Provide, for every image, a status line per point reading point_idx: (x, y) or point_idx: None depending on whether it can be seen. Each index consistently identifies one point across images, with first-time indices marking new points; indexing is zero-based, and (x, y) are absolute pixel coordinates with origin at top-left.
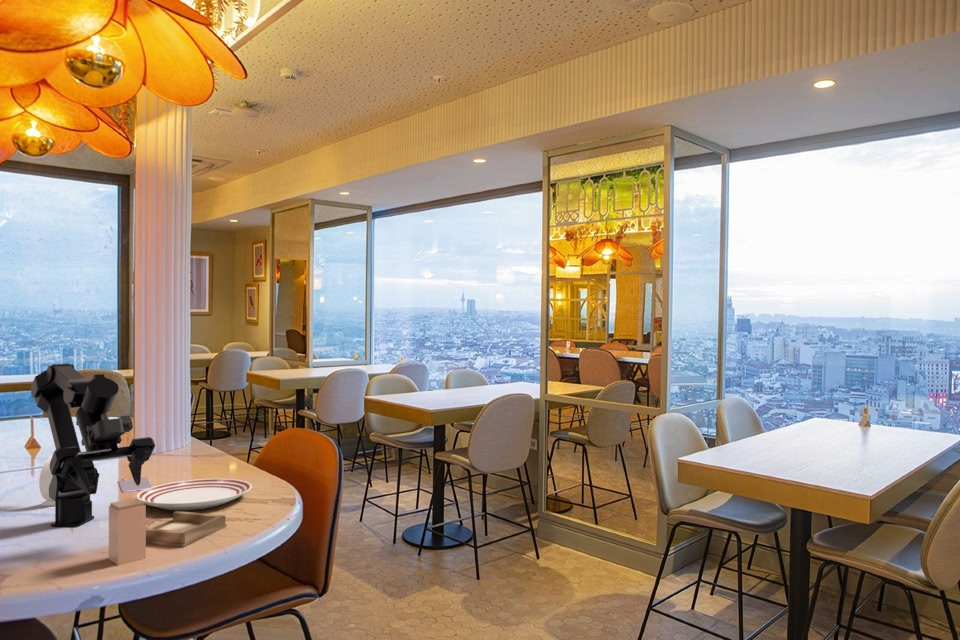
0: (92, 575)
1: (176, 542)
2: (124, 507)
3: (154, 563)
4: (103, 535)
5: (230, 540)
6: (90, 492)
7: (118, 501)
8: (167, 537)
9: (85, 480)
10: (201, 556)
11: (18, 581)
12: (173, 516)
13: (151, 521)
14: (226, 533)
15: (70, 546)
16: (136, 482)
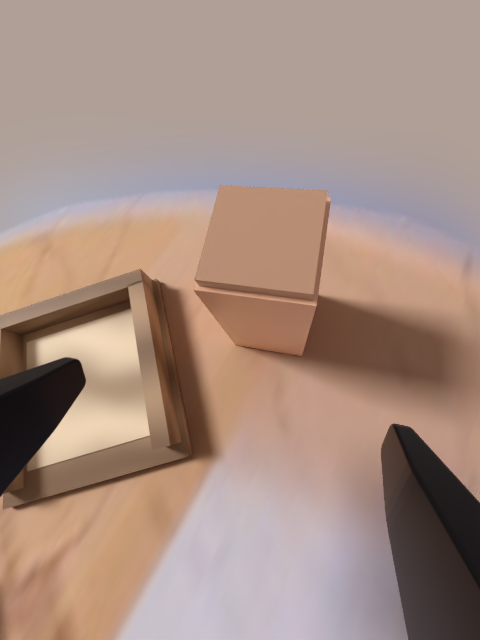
0: (381, 279)
1: (155, 302)
2: (303, 193)
3: None
4: (193, 601)
5: (86, 242)
6: (390, 432)
7: (273, 287)
8: (155, 322)
9: (477, 525)
10: (181, 207)
11: None
12: (8, 490)
13: (28, 589)
14: (53, 287)
15: (318, 591)
16: (68, 391)
